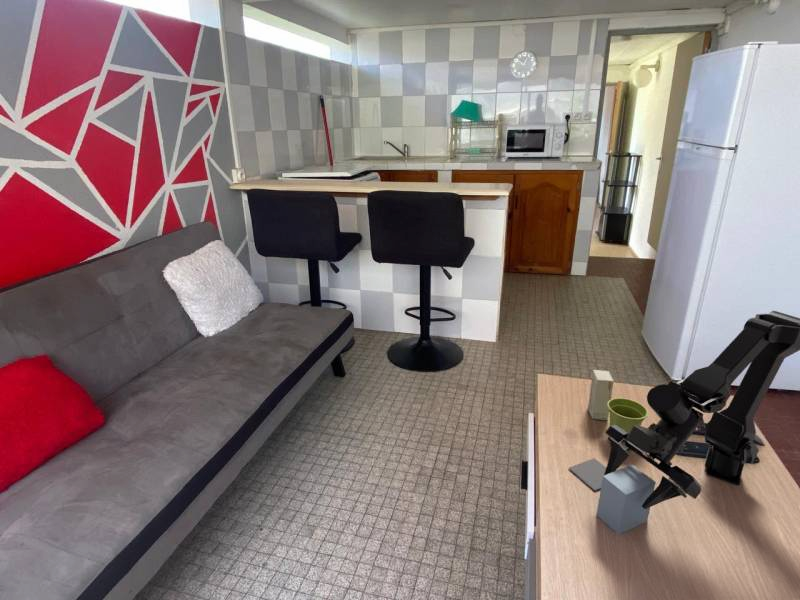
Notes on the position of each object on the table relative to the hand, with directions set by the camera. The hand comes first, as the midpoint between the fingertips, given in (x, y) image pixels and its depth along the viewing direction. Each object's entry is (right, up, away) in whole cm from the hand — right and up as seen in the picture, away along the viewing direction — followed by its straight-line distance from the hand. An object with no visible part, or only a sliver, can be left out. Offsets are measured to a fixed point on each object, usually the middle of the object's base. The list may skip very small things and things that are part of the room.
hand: (623, 491), depth 93 cm
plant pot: (+13, +3, +28) cm, 31 cm away
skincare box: (+11, +6, +38) cm, 40 cm away
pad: (0, -2, +15) cm, 15 cm away
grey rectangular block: (+1, -7, +3) cm, 7 cm away
